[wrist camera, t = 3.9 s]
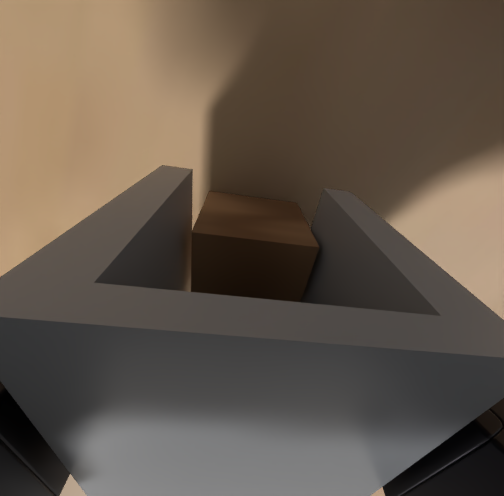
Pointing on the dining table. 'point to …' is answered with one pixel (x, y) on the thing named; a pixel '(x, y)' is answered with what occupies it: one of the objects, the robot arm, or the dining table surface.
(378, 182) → the dining table surface
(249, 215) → the walnut block
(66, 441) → the grey cover
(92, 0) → the dining table surface
